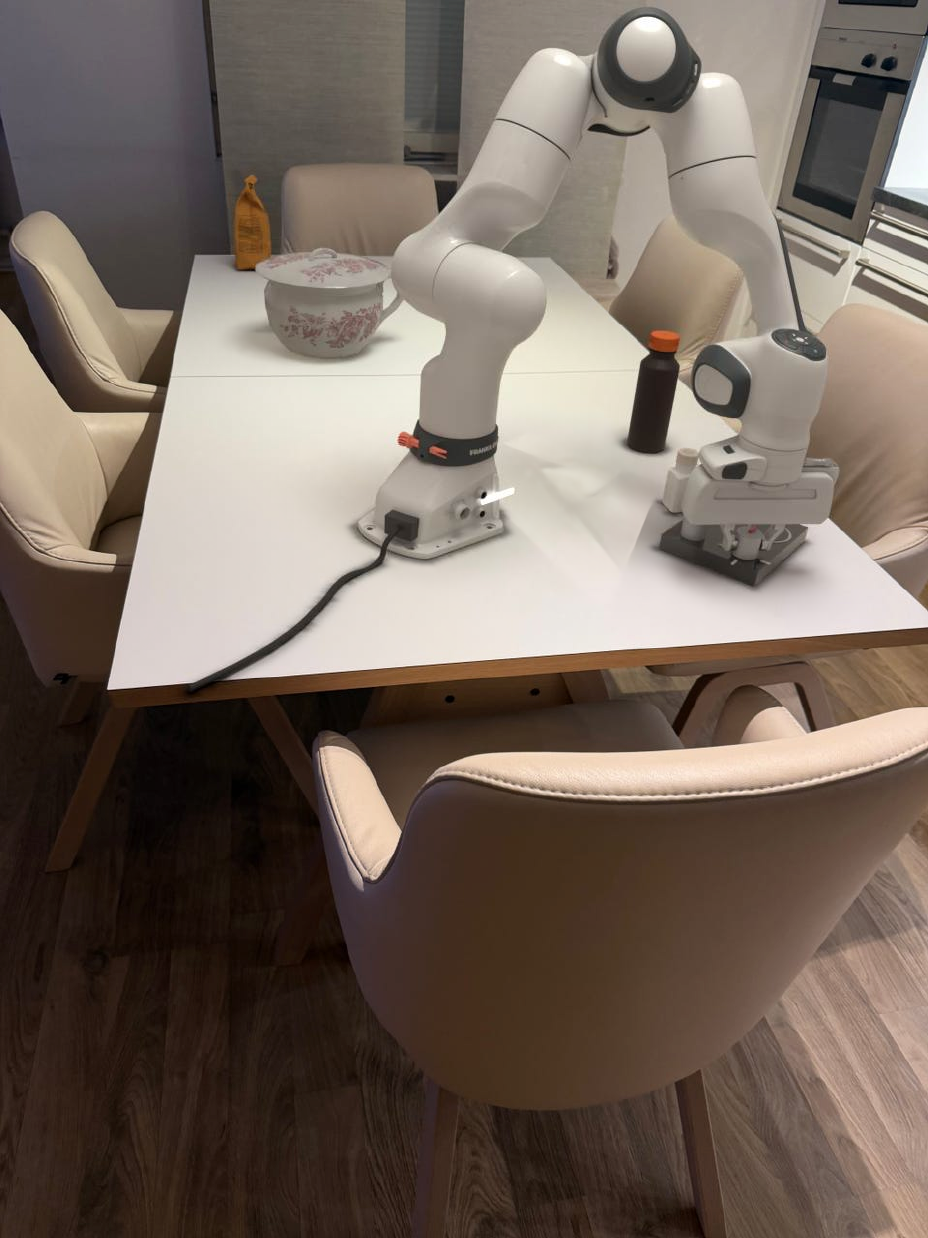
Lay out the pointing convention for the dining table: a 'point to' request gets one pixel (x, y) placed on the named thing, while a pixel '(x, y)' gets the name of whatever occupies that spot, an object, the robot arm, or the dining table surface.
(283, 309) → the chamber pot
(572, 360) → the dining table surface
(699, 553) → the hob
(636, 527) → the dining table surface
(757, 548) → the hob knob
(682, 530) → the hob zones
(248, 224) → the coffee package
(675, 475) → the pepper shaker
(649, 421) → the bottle
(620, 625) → the dining table surface
